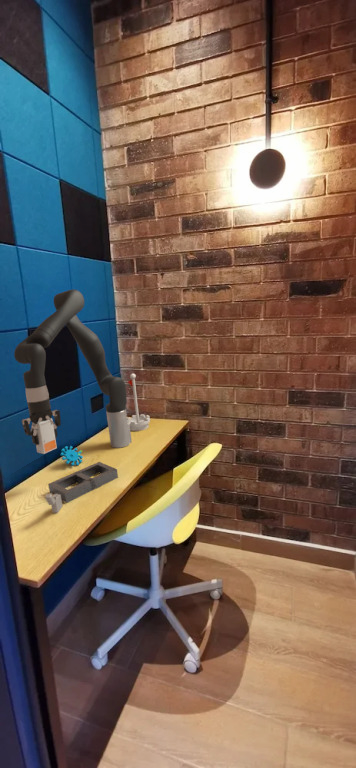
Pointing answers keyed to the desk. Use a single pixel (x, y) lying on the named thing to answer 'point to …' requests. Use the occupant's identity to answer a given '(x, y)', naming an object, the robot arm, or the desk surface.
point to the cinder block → (83, 481)
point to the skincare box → (45, 437)
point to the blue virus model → (71, 455)
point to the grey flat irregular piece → (54, 502)
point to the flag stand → (137, 421)
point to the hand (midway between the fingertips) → (45, 441)
